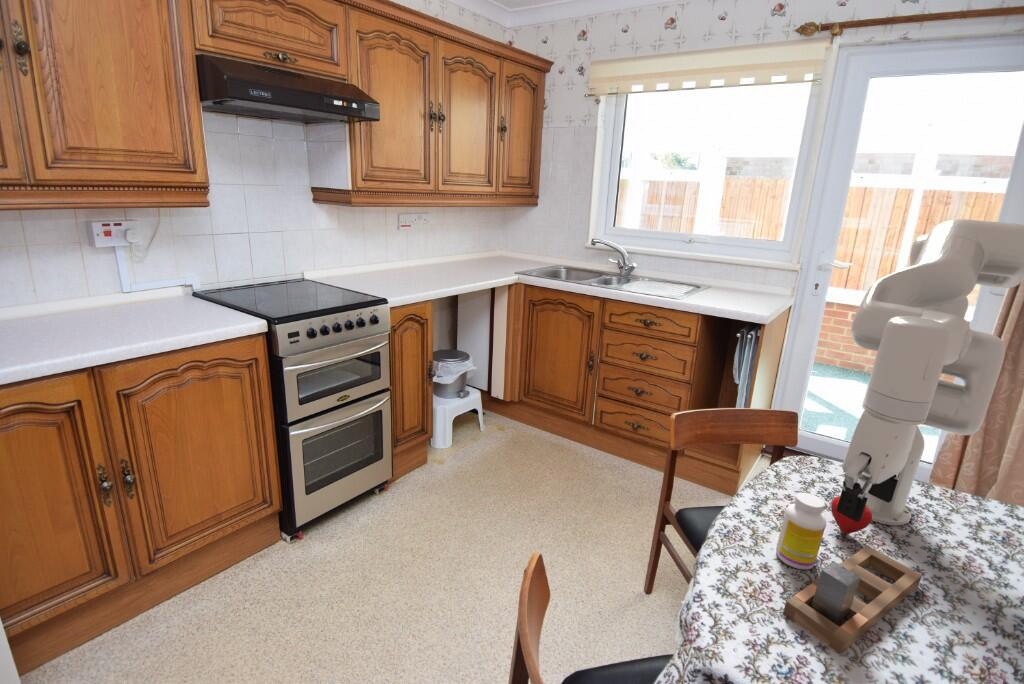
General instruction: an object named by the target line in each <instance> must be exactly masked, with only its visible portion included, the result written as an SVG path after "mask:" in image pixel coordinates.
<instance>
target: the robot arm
mask: <svg viewBox="0 0 1024 684" xmlns="http://www.w3.org/2000/svg"><path fill="white" fill-rule="evenodd" d="M1023 281H1024V224H1020V223H1012V222H1001V221H987V220H977V219H976V220H975V219H966V218H965V219H960V218H959V219H958V218H957V219H950V220H946V221H943V222H942V223H939V224H937V225H936V226H935V227H933V228H932V229H931V231H930V232H929V233H928V234H922V235H920V236H918V237H917V238H916V239H915V240H914V241H913V243H912V246H911V248H910V253H909V266H908V267H905V268H902V269H900V270H897V271H894V272H892V273H890V274H888V275H887V274H886V275H885V276H883V277H881V278H880V279H878V280H876V281H875V282H874V283H873V284H872V285H871V286H870V287H869V289H868V290H867V292H866V293H865V295H864V297H863V299H862V301H861V303H860V305H858V308H857V310H856V312H855V314H854V318H853V320H852V323H851V331H850V333H851V338H852V341H853V342H854V343H855V344H856V345H857V346H859V347H861V348H862V349H864V350H865V349H866V350H869V351H874V352H876V355H875V359H874V363H873V366H872V370H871V374H870V377H869V379H868V385H867V387H866V391H865V394H864V397H863V401H862V406H861V407H862V409H863V411H862V413H861V416H860V417H859V418H858V419H859V420H858V422H857V424H856V426H855V429H854V431H853V434H852V435H851V436H852V437H851V440H850V442H849V444H848V448H847V450H846V453H845V456H844V459H843V463H842V466H841V467H842V470H843V472H845V473H844V479H843V481H842V483H843V485H842V487H841V494H840V499H839V503H838V506H837V512H839V513H840V514H842V515H844V516H846V517H848V518H850V519H852V520H854V521H856V522H859V521H861V519H862V516H863V513H864V509H865V506H866V505H867V507H868V508H869V510H870V511H871V513H872V521H871V522H875V523H878V522H879V523H878V524H882V525H886V524H887V525H888V526H893V525H894V526H893V527H896V526H897V525H898V526H897V527H899V526H900V525H901V526H905V525H907V524H906V523H908V522H909V521H911V518H912V514H911V512H910V511H909V509H908V508H907V507H906V504H907V501H908V498H909V495H910V492H911V489H912V487H913V486H912V485H913V484H914V481H915V477H916V475H917V471H918V468H919V465H920V462H921V459H922V456H923V454H924V450H925V438H924V436H923V433H922V432H921V430H920V427H918V425H919V426H920V425H922V426H927V427H930V428H934V429H937V430H941V431H945V432H949V433H952V434H956V435H961V436H970V435H973V434H976V433H977V432H978V431H979V430H980V429H981V426H982V424H983V422H984V420H985V417H986V414H987V411H988V409H989V405H990V402H991V400H992V396H993V394H994V391H995V388H996V385H997V383H998V379H999V376H1000V373H1001V371H1002V368H1003V364H1004V360H1005V353H1006V350H1005V349H1006V346H1005V344H1004V341H1003V340H1002V339H1001V338H1000V337H999V336H997V335H995V334H992V333H988V332H983V331H979V330H972V329H971V325H970V324H969V323H968V321H967V319H965V317H966V313H967V311H968V308H969V300H968V296H969V295H971V293H972V292H973V291H974V289H975V288H976V285H981V286H987V287H995V288H1002V289H1003V288H1004V289H1005V288H1006V289H1010V288H1014V287H1017V286H1018V285H1020V284H1021V283H1022V282H1023ZM941 374H942V375H946V376H949V377H955V378H958V379H960V380H962V381H963V383H964V384H963V385H961V384H957V383H952V382H950V381H945V380H941V379H940V378H941ZM909 523H910V522H909ZM909 523H908V524H909ZM904 524H905V525H904ZM887 525H886V526H887Z"/></svg>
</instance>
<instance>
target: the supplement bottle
mask: <svg viewBox="0 0 1024 684" xmlns="http://www.w3.org/2000/svg"><path fill="white" fill-rule="evenodd" d="M825 506H826V504H825V502H824V500H823V499H822V498H820V497H819V496H817V495H815V494H812V493H809V492H798V493H796V494H795V497H794V503H791V504H790V505H788V506H787V507H786V510H785V513H784V517H783V520H782V525H781V529H780V530H779V531H780V533H779V535H778V540H777V544H776V549H775V552H776V555H777V557H778V559H779V560H781V561H782V562H783V563H784V564H786V565H787V566H789V567H792V568H795V569H799V570H811V569H812V568H814V566H815V564H816V562H817V559H818V554H819V550H820V547H821V543H822V541H823V540H822V539H823V536H824V531H825V530H826V526H827V519H826V517H825V515H824V514H823V511H824V510H825V509H824V508H825Z"/></svg>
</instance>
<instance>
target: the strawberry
mask: <svg viewBox="0 0 1024 684" xmlns="http://www.w3.org/2000/svg"><path fill="white" fill-rule="evenodd" d="M840 496H841V495H840ZM840 496H836V497H834V498H833V499H832V501H831V503H830V508H831V515H832V516H833V519H834V521H835V522H836V524H837V526H838V528H839V530H840V532H841V533H843V534H844V535H850V534H853V533H857V532H859V531H861V530H864V529H866V528H867V527H868V526H869V525H870V524H871V523H872V522H873V521H872V513H871V511H870V510H869V508H868V507H867V505H866V506H865V509H864V513H863V516H862V519H861V521H859V522H856V521H854V520H852V519H850V518H848V517H846V516H844V515H842V514H840V513H839V512H837V506H838V503H839V499H840Z"/></svg>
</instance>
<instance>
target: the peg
mask: <svg viewBox="0 0 1024 684" xmlns="http://www.w3.org/2000/svg"><path fill="white" fill-rule="evenodd" d="M840 564H841V563H838V562H836V561H835V560H833V561H832V562H831V563H829V564H828V565H827V566H825V567H824V568H823V569H821V571H820V574H819V578H818V579H819V581H818V584H817V588H816V591H815V595H814V598H813V601H812V605H811V608H812V609H814V610H815V611H817V612H818V613H820V614H821V615H823V616H824V617H826V618H827V619H829V620H830V621H831V622H833V623H834V624H836V625H837V626H839V627H841V626H842V625H843V624H844V623H846V621H847V618H848V615H849V612H850V609H851V605H852V602H853V599H854V597H855V596H856V593H857V587H858V584H859V580H860V576H859V575H857V574H855V573H854V572H852V571H850V570H848V569H847V568H845V567H843V566H842V565H840Z"/></svg>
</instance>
